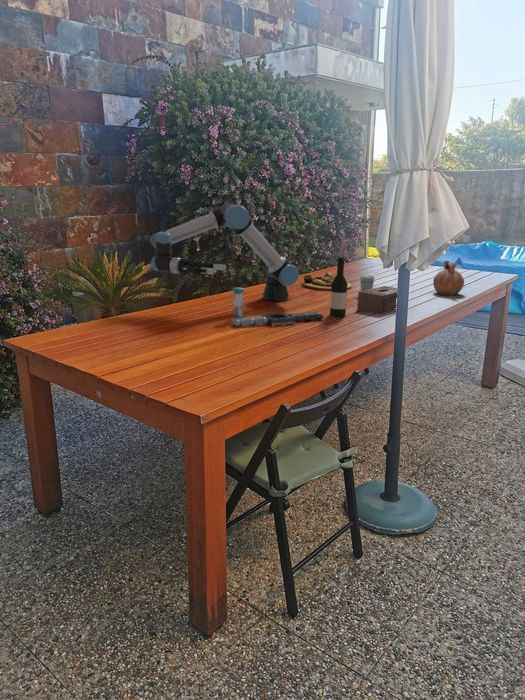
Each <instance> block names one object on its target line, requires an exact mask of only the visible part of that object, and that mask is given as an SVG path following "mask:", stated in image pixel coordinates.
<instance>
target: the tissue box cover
mask: <svg viewBox="0 0 525 700" xmlns="http://www.w3.org/2000/svg"><path fill="white" fill-rule="evenodd" d="M397 288H398V287H394V286H393V287H392V286H387V285H382V286H378V287H373V288H372V289H368V290H364V291H361V290H360V291H357V292H358V293H357V306H356V310H358V311H362V310H363V312H367V311H368V312H367V313H371V312H373V313H372V314H376V313H378V315H382V313H383V314H385V313H386V312H387V313H390V312H393V311H392V310H394V309H395V308H396V298H397ZM389 311H390V312H389ZM394 311H395V310H394ZM387 313H386V314H387Z"/></svg>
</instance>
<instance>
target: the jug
mask: <svg viewBox="0 0 525 700" xmlns="http://www.w3.org/2000/svg"><path fill="white" fill-rule="evenodd" d="M443 265H444V269H442V270H440V271H439V272H437V273H436V275H435V276H434V278H433V283H432V284H433V287H434V290H435V291H436V293H437V294H438V295H439V296H440V295H441V296H448V297H449V296H450V297H452V296H451V295H454V296H456V294H457V295H458V294H459V292H461V291H462V290H463V288H464V285H465V280H464V278H463V275H462V274H461V273H460V272H459V271H458V270H456V266H457V265H456V263H452V262H450V260H445V261H444V264H443Z"/></svg>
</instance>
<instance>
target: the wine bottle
mask: <svg viewBox="0 0 525 700" xmlns="http://www.w3.org/2000/svg"><path fill="white" fill-rule="evenodd" d="M344 267H345V258H344V256H342V255H339V256H338V257H337V268H336V275H335V276H336V277H335V276H334V277H335V278H334V277H333V281H332V289H331V291H330V292H331V293H330V305H329V307H330V309H329V316H330V315H331V316H330V317H332V316H335V317H334V318H345V317H346V313H347V312H346V309H347V295H348V290H347V283H348V282H347V280H346V277H345V275H344V272H345V271H344V270H345V268H344ZM344 316H345V317H344Z"/></svg>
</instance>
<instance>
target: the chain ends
mask: <svg viewBox="0 0 525 700" xmlns="http://www.w3.org/2000/svg"><path fill="white" fill-rule="evenodd" d="M321 319H322V320H323V319H324V315H323V314H322V313H319V312H317V311H309V312H297V313H286V312H276V313H275V312H274V313H263V314H261V316H259V315H258V316H247V317H243V318H234V317H233V318H232V319H231V320H230V323H231V325H233V326H235V327H237V328H238V327H239V328H242V327H241V326H247V327H255V326H254V325H258V326H261V325H260V324H268V325H269V324H271V325H281V326H283V325H282V324H292V325H295V324H296V323H298V322H297V321H303V322H310V321H309V320H314V321H321ZM294 323H295V324H294ZM271 325H270V326H271Z"/></svg>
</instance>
